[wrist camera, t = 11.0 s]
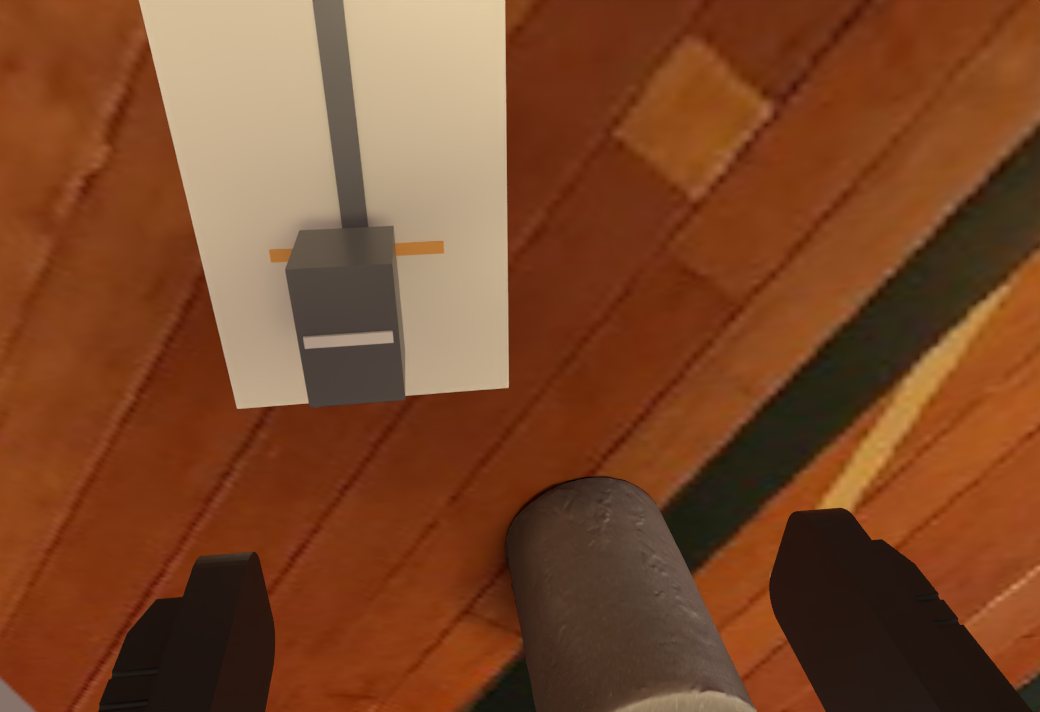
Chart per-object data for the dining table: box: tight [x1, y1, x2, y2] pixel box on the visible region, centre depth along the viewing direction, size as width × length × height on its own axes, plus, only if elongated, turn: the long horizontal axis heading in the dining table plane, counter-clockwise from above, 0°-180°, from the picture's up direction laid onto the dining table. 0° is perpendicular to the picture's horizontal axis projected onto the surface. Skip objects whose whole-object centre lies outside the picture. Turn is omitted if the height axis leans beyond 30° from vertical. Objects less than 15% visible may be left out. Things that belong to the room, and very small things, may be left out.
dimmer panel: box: [139, 0, 509, 409], centre depth 27 cm, size 24×12×3 cm, turn 0°
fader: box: [285, 226, 405, 407], centre depth 25 cm, size 5×3×6 cm, turn 0°
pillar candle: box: [505, 477, 757, 712], centre depth 36 cm, size 10×10×15 cm
